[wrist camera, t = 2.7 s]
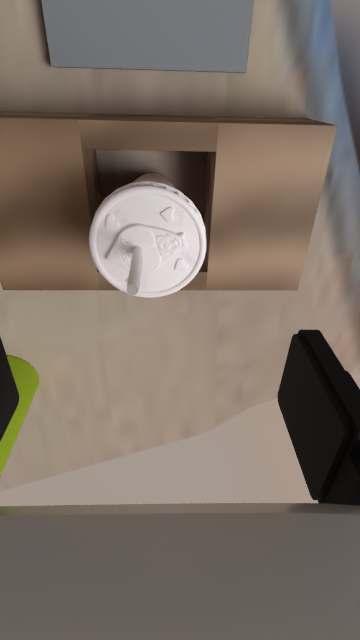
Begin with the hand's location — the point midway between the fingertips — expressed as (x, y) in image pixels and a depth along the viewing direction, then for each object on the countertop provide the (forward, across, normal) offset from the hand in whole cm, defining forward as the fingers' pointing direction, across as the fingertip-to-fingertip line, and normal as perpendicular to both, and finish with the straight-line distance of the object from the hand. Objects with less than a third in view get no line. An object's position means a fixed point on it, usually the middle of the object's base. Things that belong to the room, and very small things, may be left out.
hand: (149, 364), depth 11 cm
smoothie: (+19, +1, -1) cm, 19 cm away
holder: (+19, +1, -1) cm, 19 cm away
